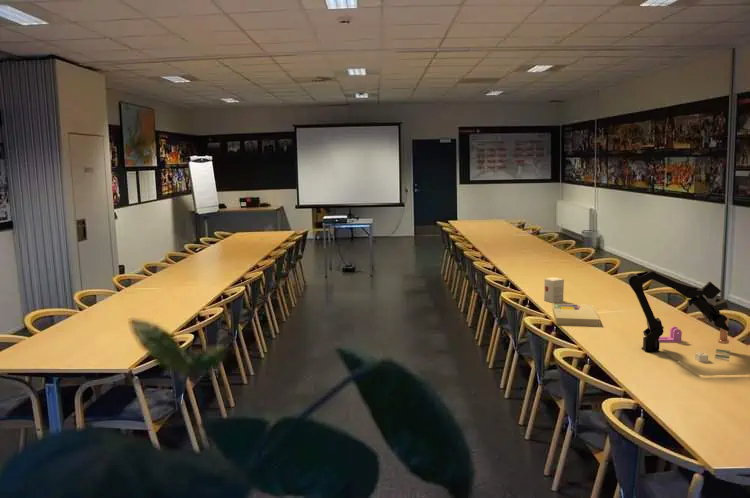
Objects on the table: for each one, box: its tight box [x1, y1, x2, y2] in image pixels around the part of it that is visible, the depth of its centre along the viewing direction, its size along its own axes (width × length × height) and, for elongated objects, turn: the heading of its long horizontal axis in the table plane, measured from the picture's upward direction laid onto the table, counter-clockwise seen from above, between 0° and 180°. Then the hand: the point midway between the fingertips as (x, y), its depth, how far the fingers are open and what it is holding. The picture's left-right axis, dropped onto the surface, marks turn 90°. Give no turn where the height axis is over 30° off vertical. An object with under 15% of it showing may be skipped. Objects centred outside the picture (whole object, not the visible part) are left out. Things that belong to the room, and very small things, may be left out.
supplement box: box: [543, 276, 565, 304], centre depth 419 cm, size 9×9×15 cm
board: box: [714, 348, 731, 362], centre depth 300 cm, size 20×6×1 cm, turn 150°
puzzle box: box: [552, 303, 601, 327], centre depth 378 cm, size 36×5×24 cm
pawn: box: [717, 314, 730, 345], centre depth 304 cm, size 5×5×13 cm
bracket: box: [659, 325, 683, 343], centre depth 328 cm, size 13×6×7 cm, turn 83°
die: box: [694, 352, 709, 363], centre depth 294 cm, size 4×4×4 cm
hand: (727, 329), depth 304 cm, fingers closed on pawn, 3 cm apart
